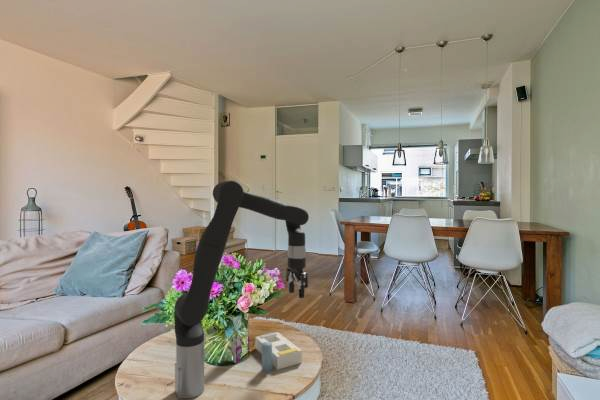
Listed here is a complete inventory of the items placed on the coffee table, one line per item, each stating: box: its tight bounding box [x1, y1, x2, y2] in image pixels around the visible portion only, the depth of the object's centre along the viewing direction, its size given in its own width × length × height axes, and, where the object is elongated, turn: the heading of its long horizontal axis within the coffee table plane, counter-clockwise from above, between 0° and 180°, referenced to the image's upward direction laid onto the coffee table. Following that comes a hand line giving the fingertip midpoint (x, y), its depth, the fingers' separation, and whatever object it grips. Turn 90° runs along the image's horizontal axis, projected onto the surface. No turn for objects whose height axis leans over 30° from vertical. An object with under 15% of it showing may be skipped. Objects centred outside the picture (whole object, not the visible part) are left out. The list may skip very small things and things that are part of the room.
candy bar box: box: [232, 314, 250, 364], centre depth 142 cm, size 11×5×16 cm, turn 161°
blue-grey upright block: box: [261, 342, 273, 373], centre depth 131 cm, size 4×4×10 cm
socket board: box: [254, 331, 303, 371], centre depth 143 cm, size 11×22×5 cm, turn 30°
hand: (296, 295), depth 140 cm, fingers open, 8 cm apart
